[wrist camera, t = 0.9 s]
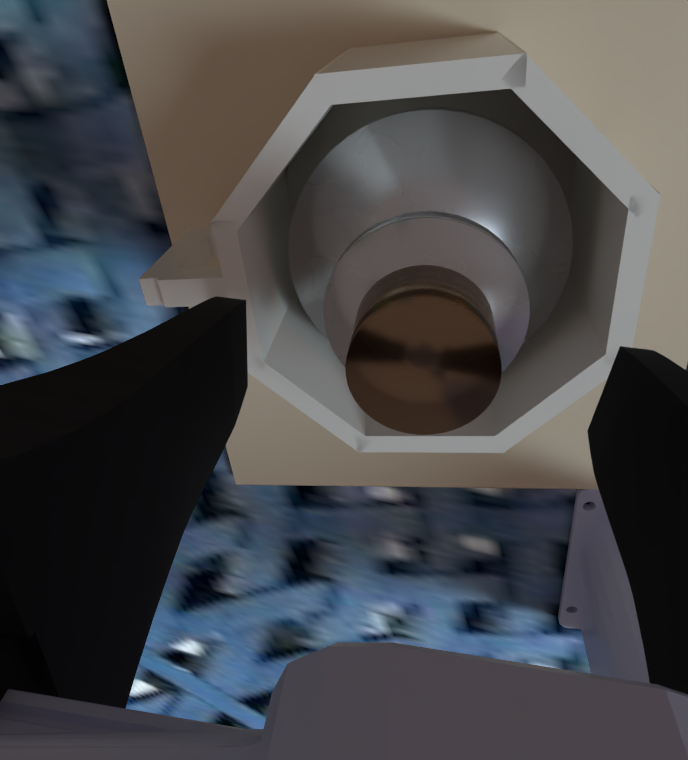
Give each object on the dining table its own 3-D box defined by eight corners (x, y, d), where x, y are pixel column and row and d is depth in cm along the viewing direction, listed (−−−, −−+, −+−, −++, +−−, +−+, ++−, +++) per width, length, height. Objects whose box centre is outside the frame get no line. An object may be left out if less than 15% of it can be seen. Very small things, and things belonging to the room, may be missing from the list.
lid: (556, 367, 18) (603, 517, 13) (310, 372, 19) (265, 510, 14) (585, 93, 14) (671, 154, 9) (271, 120, 15) (189, 189, 10)
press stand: (651, 480, 25) (712, 618, 20) (239, 475, 28) (192, 594, 22) (861, -405, 12) (1211, -723, 7) (52, -243, 15) (-166, -372, 10)
